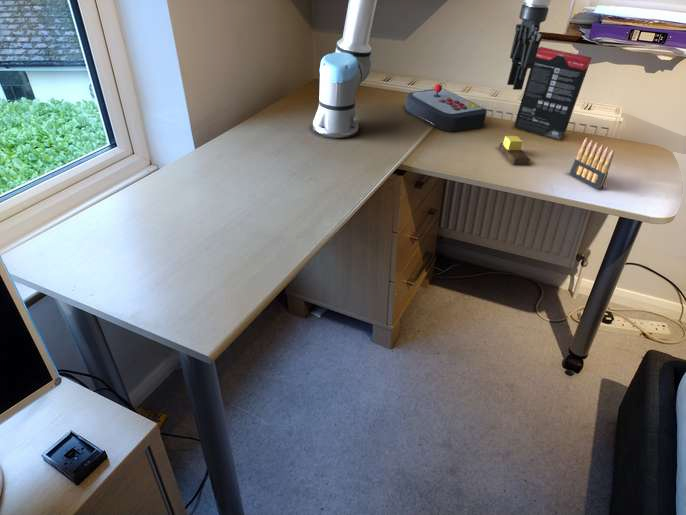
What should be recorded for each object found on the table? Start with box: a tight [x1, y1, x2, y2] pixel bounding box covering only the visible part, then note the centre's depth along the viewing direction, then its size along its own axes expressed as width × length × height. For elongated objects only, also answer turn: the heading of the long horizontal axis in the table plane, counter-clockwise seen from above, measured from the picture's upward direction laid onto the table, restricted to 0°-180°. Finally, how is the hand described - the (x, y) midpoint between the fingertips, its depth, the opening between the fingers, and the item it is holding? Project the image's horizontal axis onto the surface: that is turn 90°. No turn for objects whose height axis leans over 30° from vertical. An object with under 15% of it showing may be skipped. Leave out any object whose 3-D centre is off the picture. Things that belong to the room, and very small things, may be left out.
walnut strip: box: [498, 142, 531, 166], centre depth 161 cm, size 12×5×2 cm, turn 8°
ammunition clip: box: [568, 137, 615, 191], centre depth 147 cm, size 11×2×12 cm, turn 30°
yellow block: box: [502, 135, 524, 150], centre depth 161 cm, size 4×4×3 cm
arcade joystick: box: [404, 83, 488, 132], centre depth 183 cm, size 28×19×10 cm
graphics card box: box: [513, 46, 592, 141], centre depth 172 cm, size 17×7×27 cm, turn 58°
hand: (514, 86), depth 159 cm, fingers open, 4 cm apart
